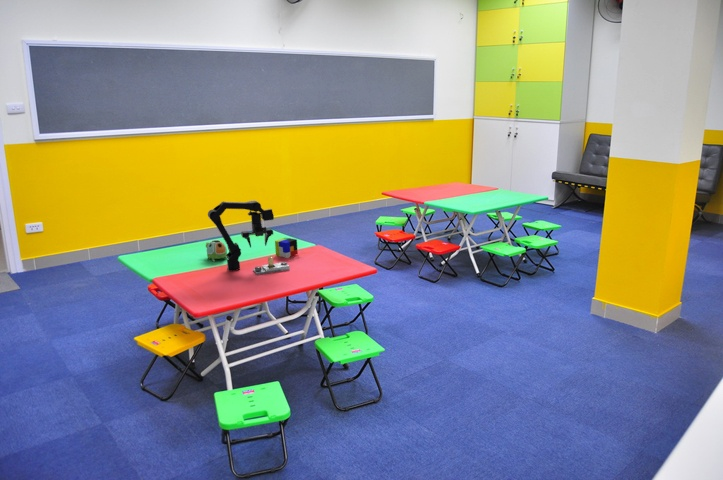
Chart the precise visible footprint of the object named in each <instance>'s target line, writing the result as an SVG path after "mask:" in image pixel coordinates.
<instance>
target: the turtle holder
mask: <svg viewBox="0 0 723 480" xmlns="http://www.w3.org/2000/svg"><path fill="white" fill-rule="evenodd" d="M205 248H206V256H207V259H206V260H207V261H209V260H212V262H216V260H218V259H219V260H220V259H224V260H228V258H227V257H226V255H227V254H228V253H227V251H228V248H227V246H226V245H225V242H224V243H223V241H221V240H220V239H214V240H210V242H208V241H207V242H206V243H205Z"/></svg>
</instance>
